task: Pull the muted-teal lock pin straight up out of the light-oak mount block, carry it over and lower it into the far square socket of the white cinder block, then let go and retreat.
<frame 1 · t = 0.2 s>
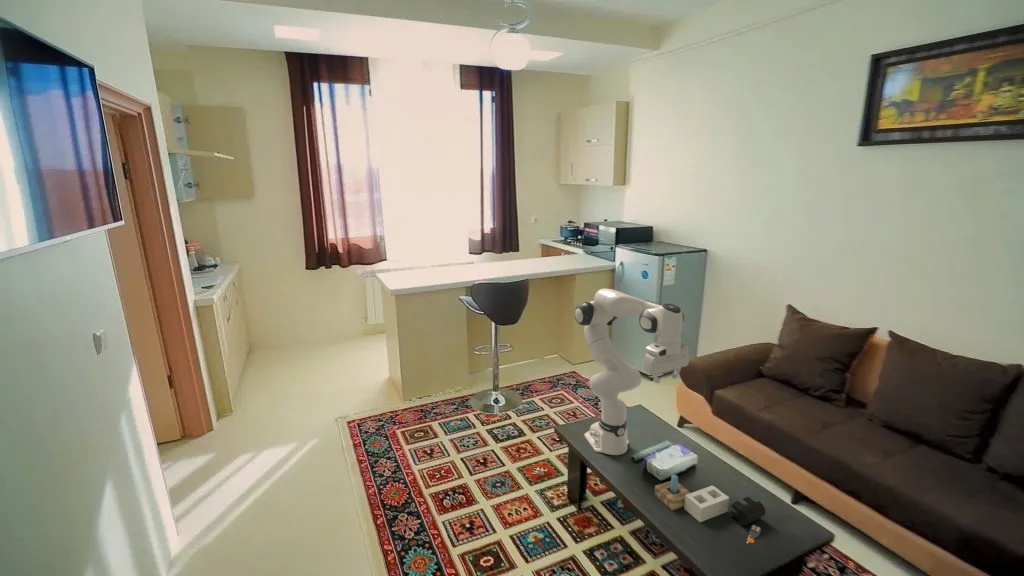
hand: (665, 380, 179), 47 cm above the table, fingers open, 8 cm apart
key chain: (751, 539, 163), on the table
mount block: (672, 499, 182), on the table
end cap: (746, 520, 171), on the table
white cinder block: (705, 510, 176), on the table
lock pin: (673, 488, 181), in the mount block
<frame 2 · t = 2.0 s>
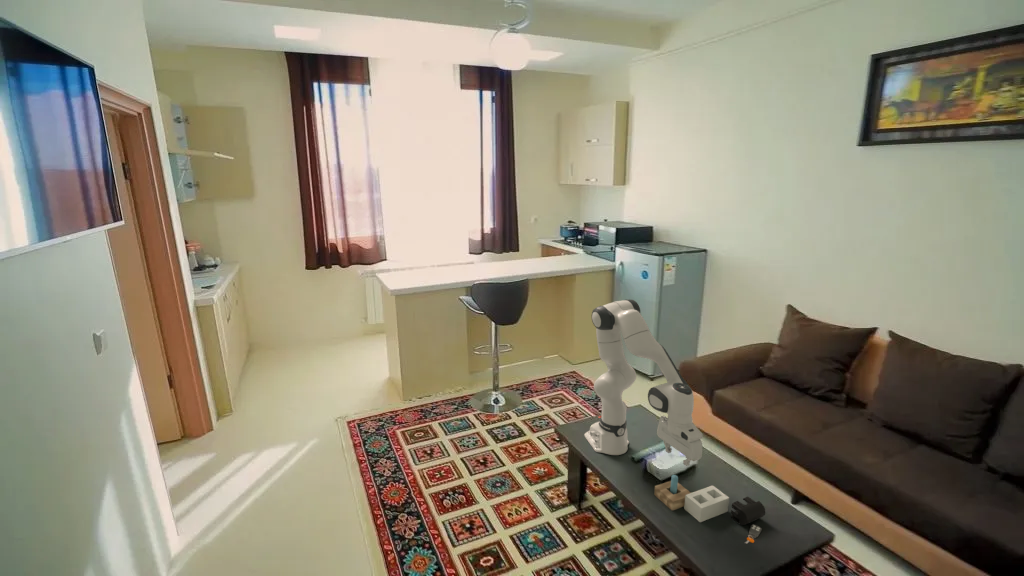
hand: (677, 458, 178), 18 cm above the table, fingers open, 8 cm apart
nothing on the table moved.
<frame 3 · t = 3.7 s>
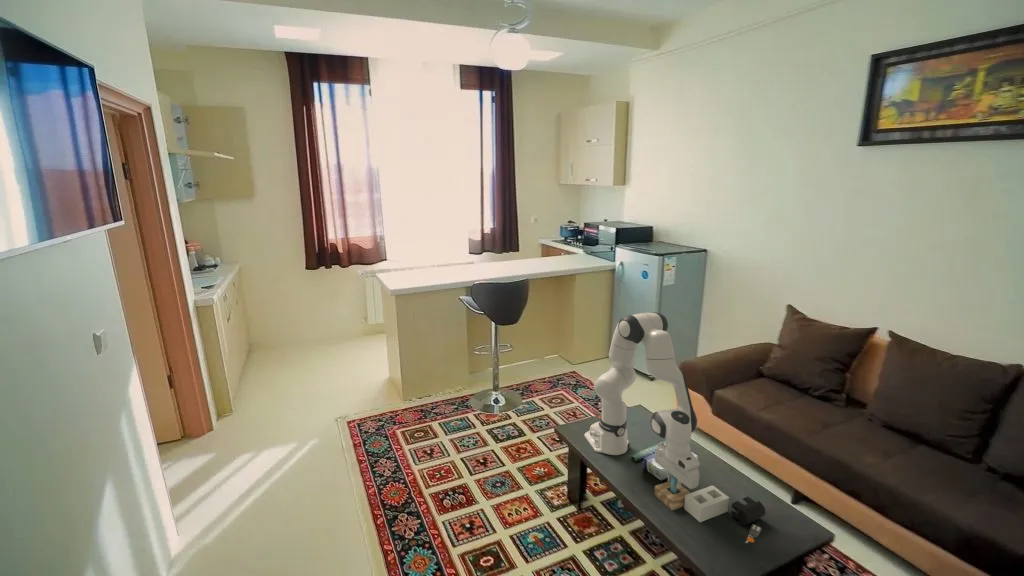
hand: (674, 484, 181), 7 cm above the table, fingers closed on lock pin, 2 cm apart
lock pin: (673, 488, 181), in the mount block, touching gripper
everything else where it was.
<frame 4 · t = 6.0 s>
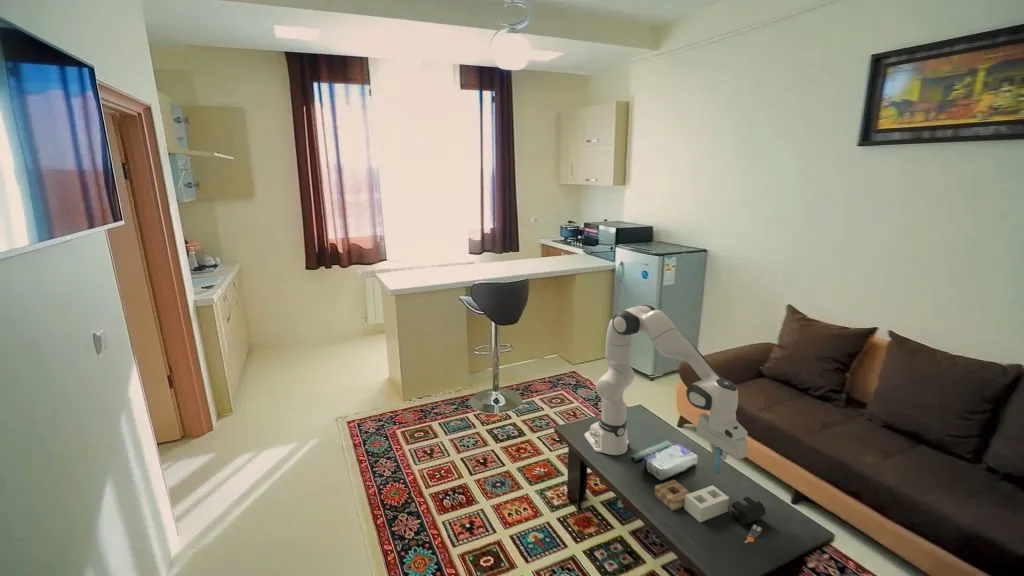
hand: (718, 456, 172), 22 cm above the table, fingers closed on lock pin, 2 cm apart
lock pin: (718, 460, 173), point 20 cm above the table, touching gripper
everything else where it was.
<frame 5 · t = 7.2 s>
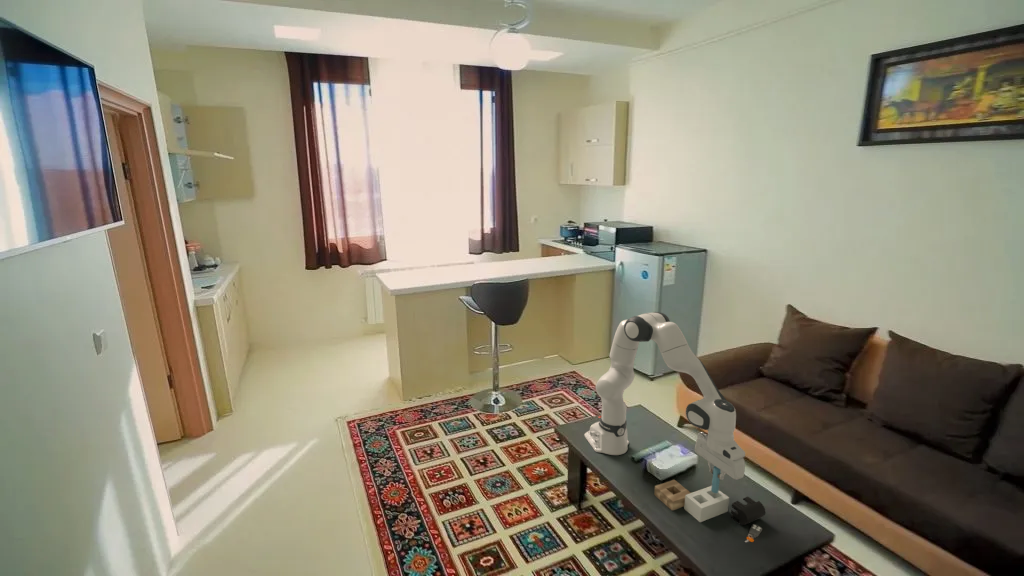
hand: (716, 475, 174), 14 cm above the table, fingers closed on lock pin, 2 cm apart
lock pin: (716, 479, 175), point 12 cm above the table, touching gripper
everything else where it was.
when the fingers open (8 cm above the table, at t = 8.3 s): lock pin drops 1 cm, resting in white cinder block.
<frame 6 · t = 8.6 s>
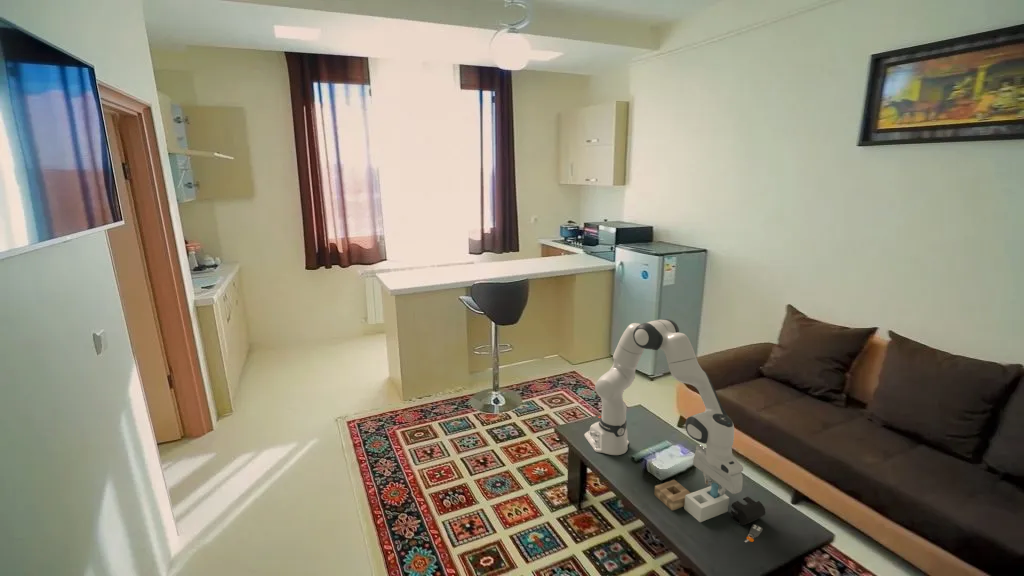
hand: (714, 489, 176), 8 cm above the table, fingers open, 5 cm apart
lock pin: (713, 496, 177), in the white cinder block
everything else where it was.
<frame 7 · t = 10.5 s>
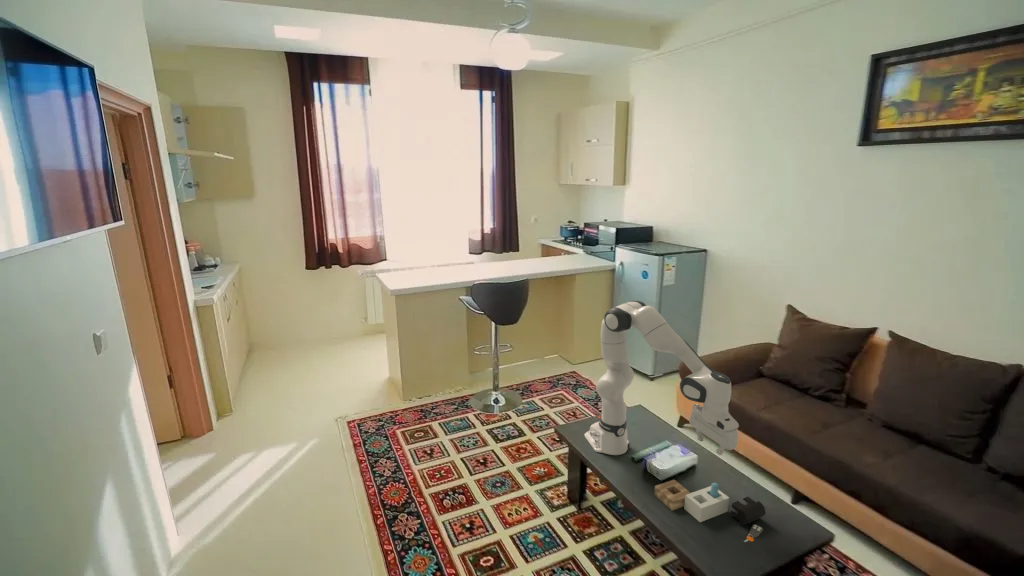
hand: (709, 446, 178), 23 cm above the table, fingers open, 8 cm apart
nothing on the table moved.
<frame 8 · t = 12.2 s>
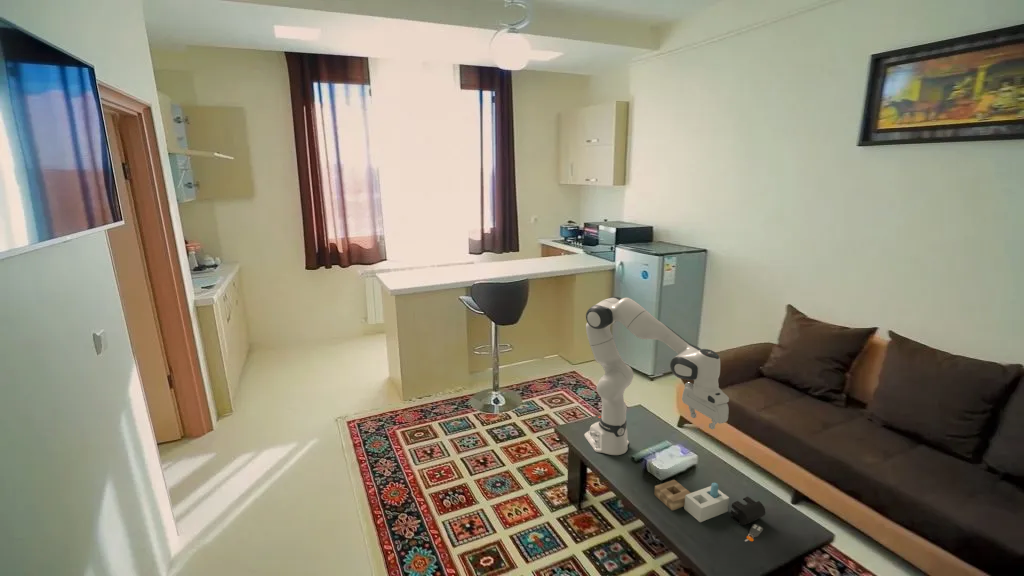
hand: (702, 422, 183), 29 cm above the table, fingers open, 8 cm apart
nothing on the table moved.
at the end: lock pin 0.0 cm from the target spot on the white cinder block, point 5.0 cm above the white cinder block's base; lock pin tilted 0°; the gripper is holding nothing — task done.
